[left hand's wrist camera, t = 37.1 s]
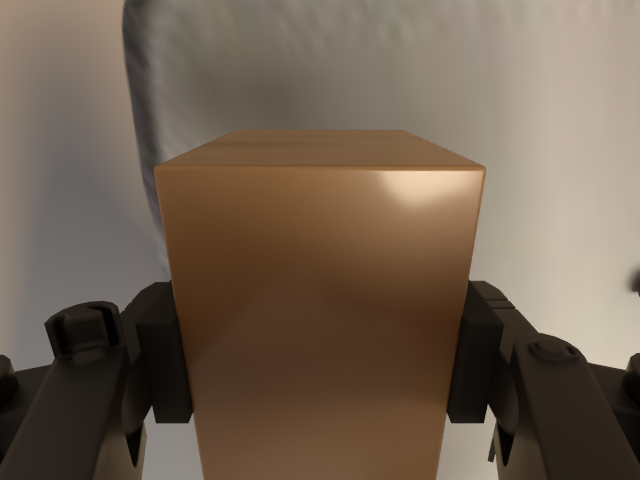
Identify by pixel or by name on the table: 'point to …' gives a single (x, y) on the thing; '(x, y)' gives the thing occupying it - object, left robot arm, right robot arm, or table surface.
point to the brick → (319, 298)
